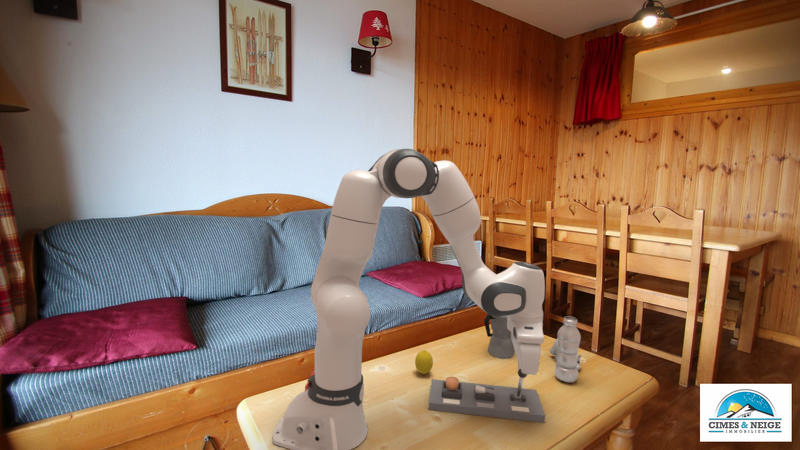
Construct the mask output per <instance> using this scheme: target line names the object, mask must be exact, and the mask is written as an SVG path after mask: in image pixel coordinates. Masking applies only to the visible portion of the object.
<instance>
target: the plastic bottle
mask: <svg viewBox="0 0 800 450" xmlns="http://www.w3.org/2000/svg"><path fill="white" fill-rule="evenodd" d="M562 324H563V325H562V326H561V327H560V328H559V329H558V331H557V338H558V358H557V361H556V364H555V366H554V374H555V377H556V378H557V379H558V380H559V381H560V382H564V383H568V384H569V383H570V384H573V383H575V382H576V381H577V380H578V377H579V370H578V368H577V354H578V353H579V348H580V343H581V338H582V336H581V333H580V331H579V329H578V328H577V326H578V319H577V318H576V317H574V316H570V315H569V316H564V317H563V321H562Z"/></svg>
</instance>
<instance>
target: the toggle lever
mask: <svg viewBox="0 0 800 450" xmlns="http://www.w3.org/2000/svg"><path fill="white" fill-rule="evenodd" d="M517 375H518V377H519V379H518V382H517V383H518V384H517V387H516V388H517V394H515V398H516V399H521V396H520V394H521V389H522V388H523V383H524V378H526V377H527V376H528V374H523V373H522V372H521V368H520V369H519V370H518V369H517Z"/></svg>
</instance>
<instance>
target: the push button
mask: <svg viewBox="0 0 800 450" xmlns="http://www.w3.org/2000/svg"><path fill="white" fill-rule="evenodd" d="M445 380H446V388H447V389H449V390H457V389H458V386H459V382H460V381H459V378H457V377H455V376H447V377H446V378H445Z"/></svg>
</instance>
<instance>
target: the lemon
mask: <svg viewBox="0 0 800 450" xmlns="http://www.w3.org/2000/svg"><path fill="white" fill-rule="evenodd" d="M414 361H415V362H414V363H415V369H416V370H417V371H418V373H421V374H423V375H426V374H428V373H429V372H430V371H431V370H432V369H433V365H434V360H433V356H432V354H431V353H430V352H429V351H427V350H426V349H423V350H421V351H419V352H417V354H416V356H415V360H414Z"/></svg>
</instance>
